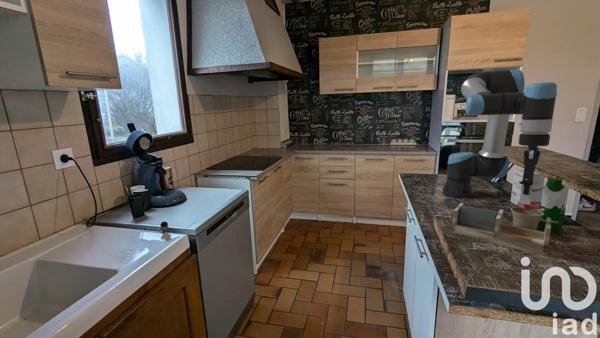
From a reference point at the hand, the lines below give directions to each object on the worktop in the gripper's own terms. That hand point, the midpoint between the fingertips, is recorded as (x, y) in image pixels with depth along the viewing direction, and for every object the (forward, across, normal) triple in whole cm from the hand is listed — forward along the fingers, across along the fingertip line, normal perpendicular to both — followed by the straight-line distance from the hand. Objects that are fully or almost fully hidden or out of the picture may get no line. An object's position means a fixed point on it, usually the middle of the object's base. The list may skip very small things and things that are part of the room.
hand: (525, 199), depth 92 cm
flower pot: (+16, -11, 0) cm, 19 cm away
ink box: (+2, 0, 0) cm, 2 cm away
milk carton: (+16, -21, +6) cm, 27 cm away
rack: (+16, 0, -6) cm, 17 cm away
